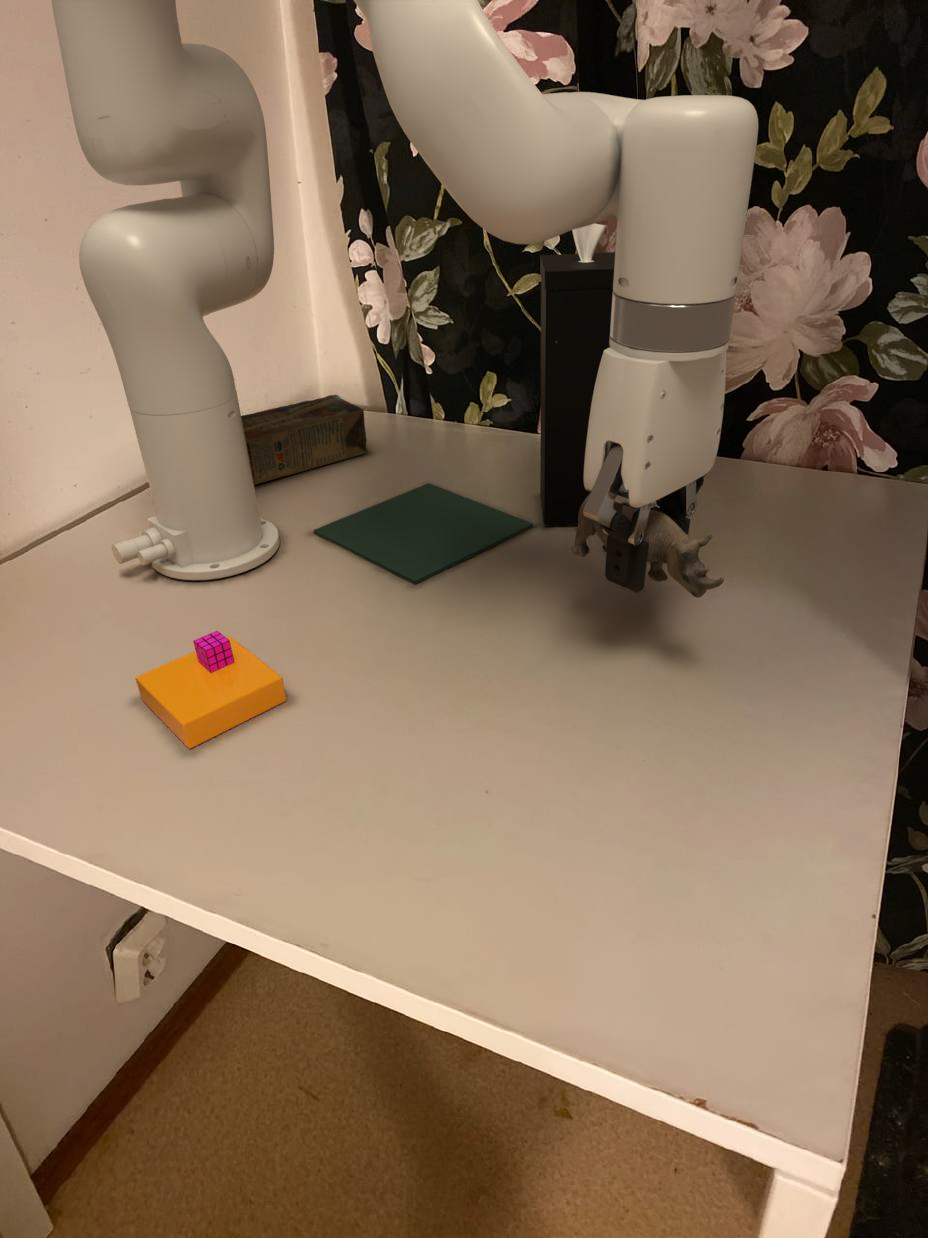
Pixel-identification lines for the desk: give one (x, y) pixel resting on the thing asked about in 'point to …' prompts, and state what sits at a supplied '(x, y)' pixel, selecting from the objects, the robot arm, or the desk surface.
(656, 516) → the rhino figurine
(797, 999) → the desk surface
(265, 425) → the beverage carton
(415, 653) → the desk surface
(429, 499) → the mat
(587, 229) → the tissue box
